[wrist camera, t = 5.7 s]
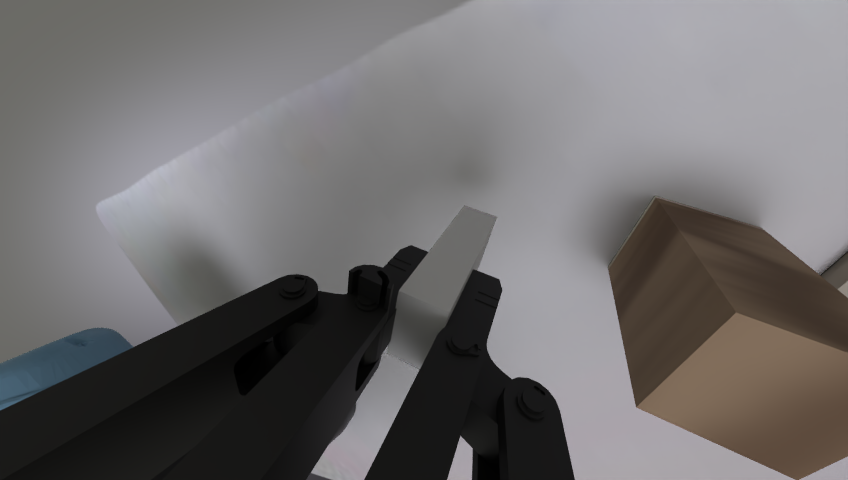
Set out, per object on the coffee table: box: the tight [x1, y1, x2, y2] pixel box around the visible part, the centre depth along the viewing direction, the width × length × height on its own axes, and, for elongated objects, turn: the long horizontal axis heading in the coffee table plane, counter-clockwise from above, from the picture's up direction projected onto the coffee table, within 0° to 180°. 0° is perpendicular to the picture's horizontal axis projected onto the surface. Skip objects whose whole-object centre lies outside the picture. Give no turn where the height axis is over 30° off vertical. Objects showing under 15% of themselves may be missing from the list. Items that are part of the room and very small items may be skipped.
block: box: [608, 196, 848, 480], centre depth 13 cm, size 5×5×10 cm
